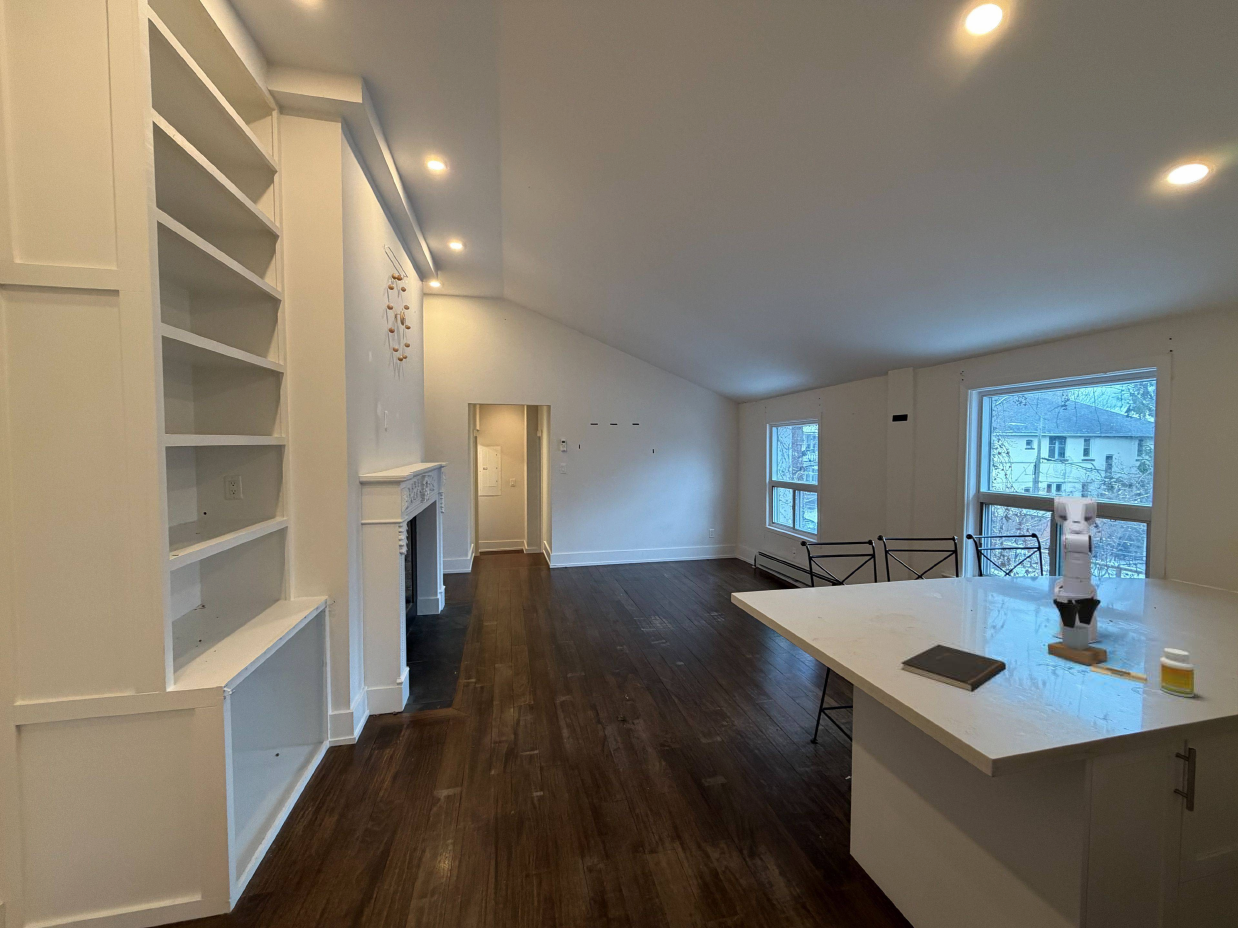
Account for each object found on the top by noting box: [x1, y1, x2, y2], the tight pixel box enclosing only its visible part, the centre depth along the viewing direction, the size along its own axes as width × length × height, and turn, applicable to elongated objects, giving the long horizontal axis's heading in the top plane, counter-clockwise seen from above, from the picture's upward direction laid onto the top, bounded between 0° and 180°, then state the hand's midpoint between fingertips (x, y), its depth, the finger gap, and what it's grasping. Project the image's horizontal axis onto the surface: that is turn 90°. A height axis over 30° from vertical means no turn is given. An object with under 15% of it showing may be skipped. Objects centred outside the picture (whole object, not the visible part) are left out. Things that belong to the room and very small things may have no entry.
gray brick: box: [1061, 625, 1090, 650], centre depth 137 cm, size 4×4×6 cm
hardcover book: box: [900, 643, 1007, 692], centre depth 129 cm, size 16×23×2 cm
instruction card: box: [1089, 663, 1148, 685], centre depth 127 cm, size 7×10×1 cm
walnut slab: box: [1047, 640, 1108, 666], centre depth 137 cm, size 9×9×3 cm
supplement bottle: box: [1159, 647, 1195, 698], centre depth 116 cm, size 5×5×10 cm
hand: (1076, 625), depth 137 cm, fingers open, 7 cm apart
